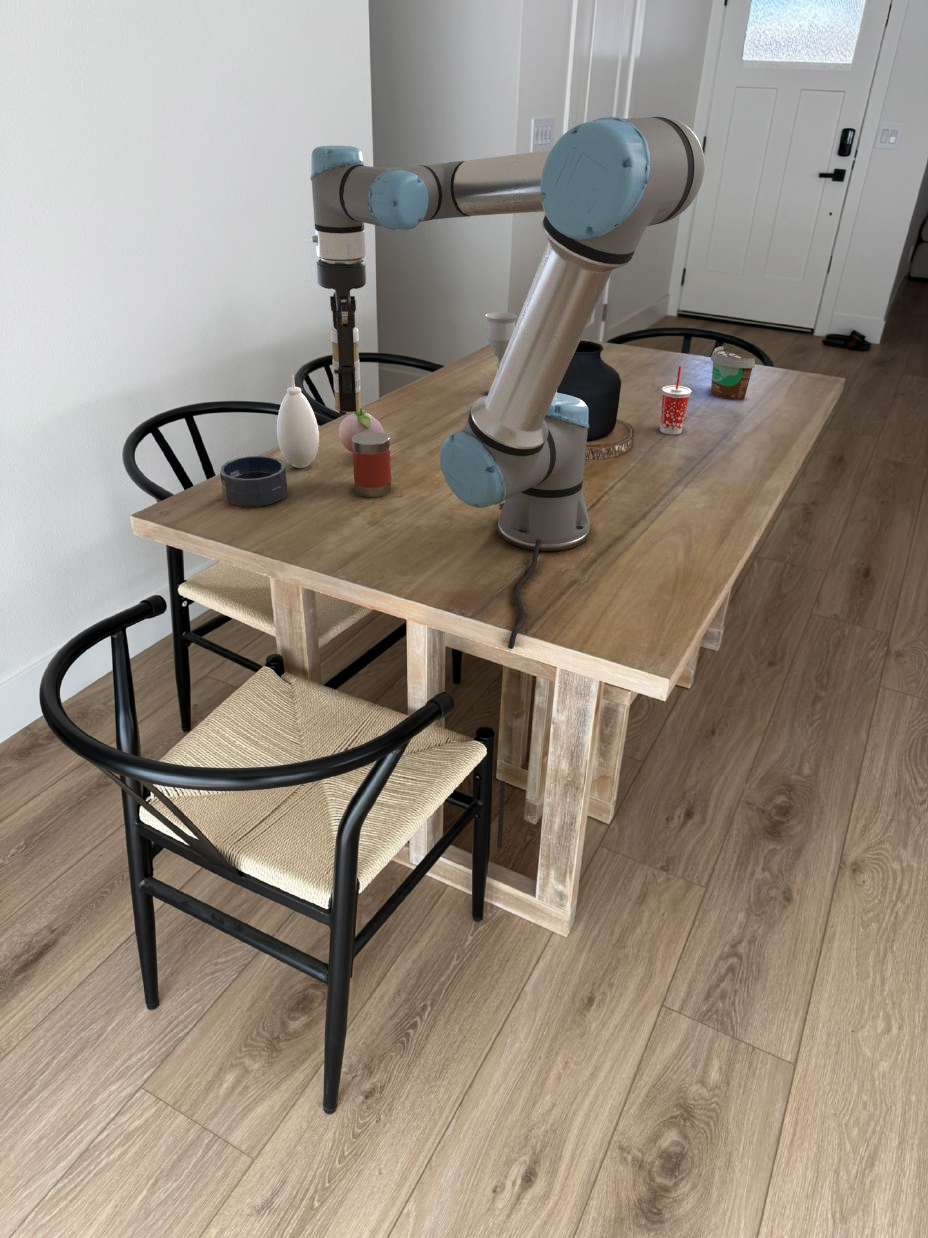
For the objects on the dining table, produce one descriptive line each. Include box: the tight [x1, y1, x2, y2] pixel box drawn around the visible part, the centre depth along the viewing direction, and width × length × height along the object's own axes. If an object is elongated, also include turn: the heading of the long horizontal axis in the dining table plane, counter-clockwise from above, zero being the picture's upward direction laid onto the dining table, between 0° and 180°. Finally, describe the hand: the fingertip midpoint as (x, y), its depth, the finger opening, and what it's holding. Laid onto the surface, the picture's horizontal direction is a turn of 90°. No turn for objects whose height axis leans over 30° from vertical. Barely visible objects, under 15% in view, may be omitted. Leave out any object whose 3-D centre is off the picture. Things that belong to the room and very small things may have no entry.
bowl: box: [219, 455, 289, 508], centre depth 158 cm, size 11×11×6 cm
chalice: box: [485, 311, 518, 395], centre depth 206 cm, size 7×7×18 cm
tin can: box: [351, 431, 392, 498], centre depth 159 cm, size 7×7×10 cm
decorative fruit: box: [338, 407, 385, 453], centre depth 173 cm, size 9×8×10 cm
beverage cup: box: [659, 365, 692, 435], centre depth 187 cm, size 6×6×14 cm
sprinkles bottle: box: [329, 326, 362, 414], centre depth 146 cm, size 5×5×13 cm
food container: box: [710, 345, 756, 401], centre depth 210 cm, size 12×6×10 cm, turn 25°
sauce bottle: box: [276, 373, 320, 469], centre depth 166 cm, size 8×8×18 cm
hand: (347, 405), depth 149 cm, fingers closed on sprinkles bottle, 4 cm apart
